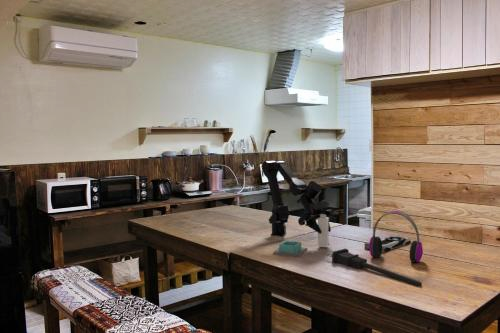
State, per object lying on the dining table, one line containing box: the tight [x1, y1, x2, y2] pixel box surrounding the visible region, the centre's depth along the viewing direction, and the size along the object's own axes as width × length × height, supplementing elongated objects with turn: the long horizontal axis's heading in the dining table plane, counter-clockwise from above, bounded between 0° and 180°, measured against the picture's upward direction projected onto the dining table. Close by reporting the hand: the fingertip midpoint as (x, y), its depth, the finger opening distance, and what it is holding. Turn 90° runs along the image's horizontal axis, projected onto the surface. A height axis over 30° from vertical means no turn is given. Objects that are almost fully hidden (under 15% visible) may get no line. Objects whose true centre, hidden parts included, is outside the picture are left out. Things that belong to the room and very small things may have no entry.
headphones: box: [368, 210, 424, 264], centre depth 174 cm, size 21×9×20 cm, turn 59°
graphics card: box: [364, 235, 412, 254], centre depth 195 cm, size 10×3×25 cm
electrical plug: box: [326, 248, 423, 288], centre depth 160 cm, size 9×42×5 cm, turn 35°
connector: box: [317, 213, 330, 248], centre depth 194 cm, size 4×4×14 cm
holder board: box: [272, 240, 308, 258], centre depth 188 cm, size 12×12×4 cm
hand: (325, 232), depth 193 cm, fingers closed on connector, 5 cm apart
